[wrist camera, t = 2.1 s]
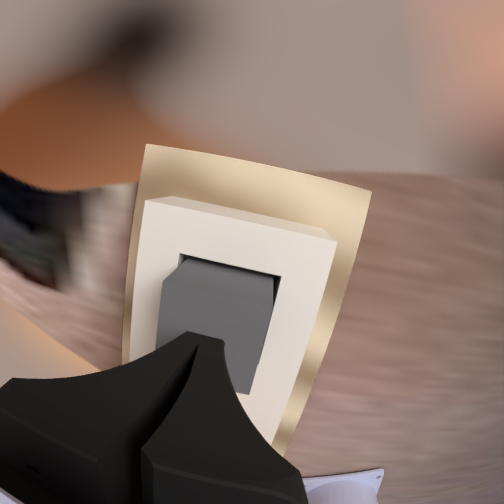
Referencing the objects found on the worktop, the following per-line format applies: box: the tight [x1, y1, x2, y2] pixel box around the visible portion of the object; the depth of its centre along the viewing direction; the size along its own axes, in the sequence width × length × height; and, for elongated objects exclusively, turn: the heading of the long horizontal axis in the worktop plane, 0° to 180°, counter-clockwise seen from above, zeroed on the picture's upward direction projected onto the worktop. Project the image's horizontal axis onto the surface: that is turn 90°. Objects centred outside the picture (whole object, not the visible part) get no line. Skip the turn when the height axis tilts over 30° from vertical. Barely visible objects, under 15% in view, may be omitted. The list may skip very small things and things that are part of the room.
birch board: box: [122, 144, 372, 457], centre depth 20 cm, size 22×13×1 cm, turn 168°
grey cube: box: [155, 256, 273, 395], centre depth 13 cm, size 4×4×4 cm
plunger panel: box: [129, 196, 338, 445], centre depth 17 cm, size 17×9×4 cm, turn 168°
